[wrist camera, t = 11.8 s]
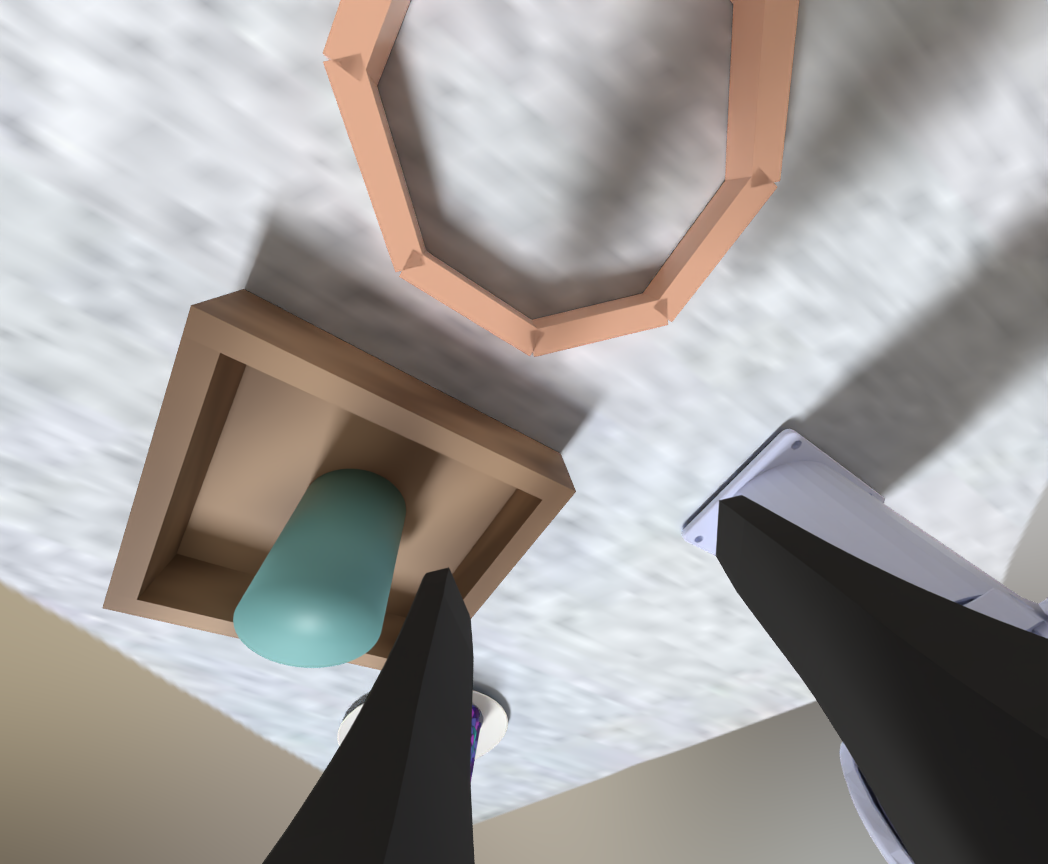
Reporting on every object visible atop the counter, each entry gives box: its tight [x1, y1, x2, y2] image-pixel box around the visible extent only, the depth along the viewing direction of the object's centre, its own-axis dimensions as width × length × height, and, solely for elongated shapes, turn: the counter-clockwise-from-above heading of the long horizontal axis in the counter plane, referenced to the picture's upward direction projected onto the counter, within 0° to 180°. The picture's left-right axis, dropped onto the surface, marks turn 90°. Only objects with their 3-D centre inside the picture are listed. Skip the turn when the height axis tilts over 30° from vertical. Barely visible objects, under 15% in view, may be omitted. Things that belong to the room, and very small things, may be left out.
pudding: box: [337, 690, 508, 777], centre depth 27 cm, size 12×12×5 cm
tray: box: [103, 289, 576, 670], centre depth 17 cm, size 14×14×3 cm
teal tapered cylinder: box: [233, 469, 406, 668], centre depth 16 cm, size 4×6×6 cm
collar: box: [323, 0, 799, 357], centre depth 12 cm, size 13×13×2 cm
